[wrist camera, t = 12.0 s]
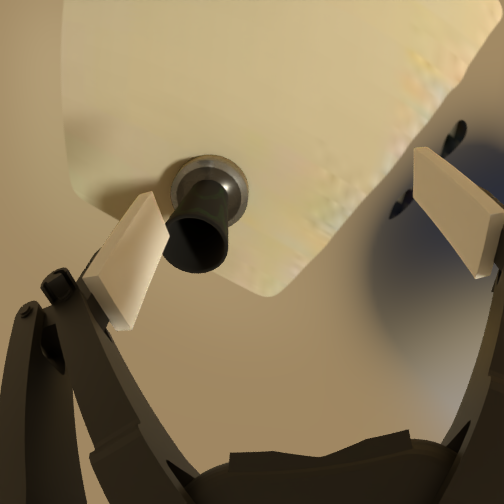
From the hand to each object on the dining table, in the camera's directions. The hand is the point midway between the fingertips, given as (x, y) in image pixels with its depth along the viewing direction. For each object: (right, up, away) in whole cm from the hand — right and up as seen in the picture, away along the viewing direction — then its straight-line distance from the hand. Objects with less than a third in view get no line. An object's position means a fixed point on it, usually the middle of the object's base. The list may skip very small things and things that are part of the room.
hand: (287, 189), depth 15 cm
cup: (-8, +5, +29) cm, 30 cm away
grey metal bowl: (-8, +6, +31) cm, 33 cm away
